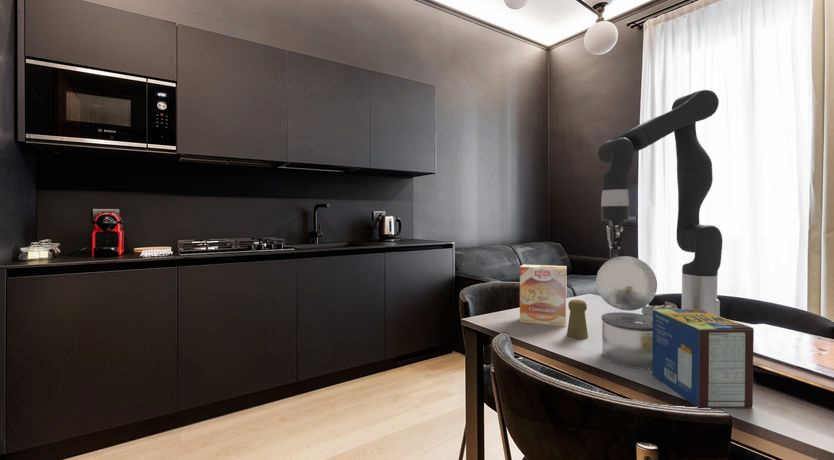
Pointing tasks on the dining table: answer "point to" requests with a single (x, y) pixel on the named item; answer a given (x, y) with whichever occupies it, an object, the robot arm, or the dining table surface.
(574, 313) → the cork
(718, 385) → the protein box
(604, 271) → the cooker lid
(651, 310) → the food container
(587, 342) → the dining table surface
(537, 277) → the coffeecake box
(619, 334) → the cooker pot
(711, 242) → the robot arm
